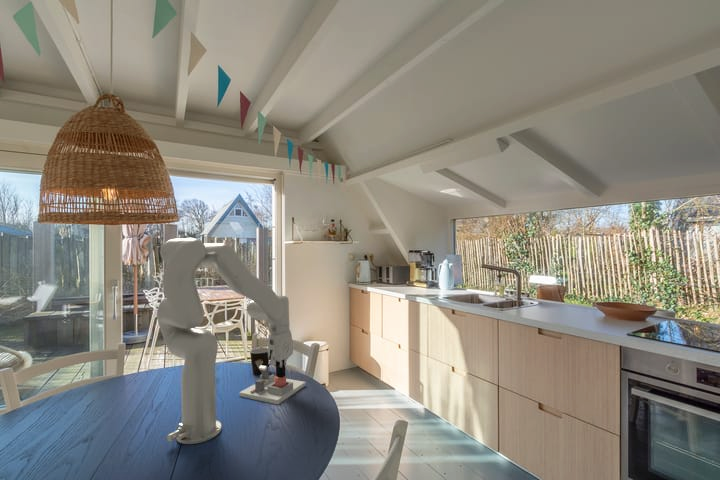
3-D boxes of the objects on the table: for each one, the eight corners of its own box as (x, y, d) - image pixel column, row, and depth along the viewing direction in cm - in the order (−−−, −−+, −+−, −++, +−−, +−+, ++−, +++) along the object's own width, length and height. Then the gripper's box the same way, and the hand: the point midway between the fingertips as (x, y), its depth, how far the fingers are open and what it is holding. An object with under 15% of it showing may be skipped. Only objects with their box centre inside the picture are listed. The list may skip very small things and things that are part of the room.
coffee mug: (246, 375, 155) (246, 352, 155) (257, 368, 163) (257, 347, 163) (269, 377, 152) (269, 354, 152) (279, 370, 160) (279, 348, 160)
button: (281, 391, 131) (281, 379, 131) (272, 389, 133) (272, 377, 133) (288, 387, 135) (288, 375, 135) (279, 385, 137) (279, 373, 137)
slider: (260, 392, 132) (260, 382, 132) (255, 391, 133) (255, 381, 133) (264, 390, 134) (264, 379, 134) (259, 389, 135) (259, 379, 135)
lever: (269, 381, 143) (264, 368, 140) (263, 379, 144) (258, 367, 142) (271, 378, 144) (266, 366, 142) (265, 377, 145) (260, 365, 143)
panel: (277, 404, 126) (277, 393, 126) (239, 396, 133) (239, 385, 133) (305, 385, 142) (305, 375, 142) (270, 379, 150) (270, 370, 150)
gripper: (274, 334, 126) (276, 385, 126) (298, 324, 139) (300, 370, 139) (258, 332, 129) (259, 382, 129) (283, 323, 142) (284, 368, 142)
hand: (280, 376), depth 134 cm, fingers closed
